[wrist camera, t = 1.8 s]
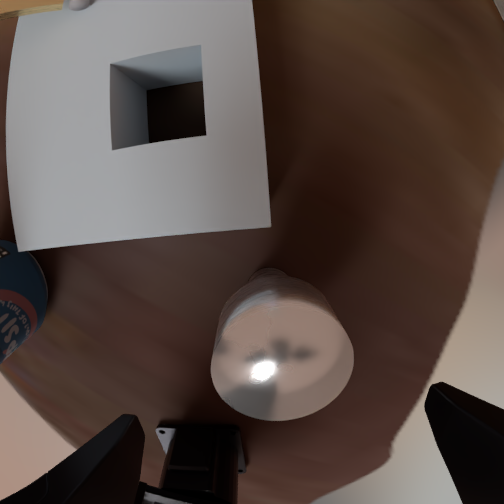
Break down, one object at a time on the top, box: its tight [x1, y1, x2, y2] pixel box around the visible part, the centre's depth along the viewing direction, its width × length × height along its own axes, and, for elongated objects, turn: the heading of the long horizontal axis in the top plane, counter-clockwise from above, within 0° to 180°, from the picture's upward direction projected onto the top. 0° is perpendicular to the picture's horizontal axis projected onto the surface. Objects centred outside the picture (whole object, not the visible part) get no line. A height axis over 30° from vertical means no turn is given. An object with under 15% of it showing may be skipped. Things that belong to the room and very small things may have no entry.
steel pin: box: [211, 268, 354, 421], centre depth 14 cm, size 5×5×8 cm
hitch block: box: [6, 0, 271, 252], centre depth 11 cm, size 17×12×6 cm
